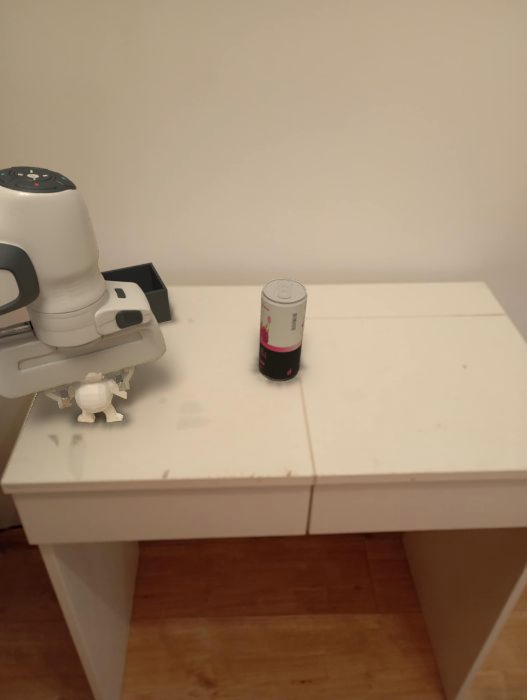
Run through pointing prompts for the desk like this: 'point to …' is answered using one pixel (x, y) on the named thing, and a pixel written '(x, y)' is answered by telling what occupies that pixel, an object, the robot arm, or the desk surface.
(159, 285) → the dark grey hollow box
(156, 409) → the desk surface
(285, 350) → the beverage can
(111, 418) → the figurine
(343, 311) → the desk surface
